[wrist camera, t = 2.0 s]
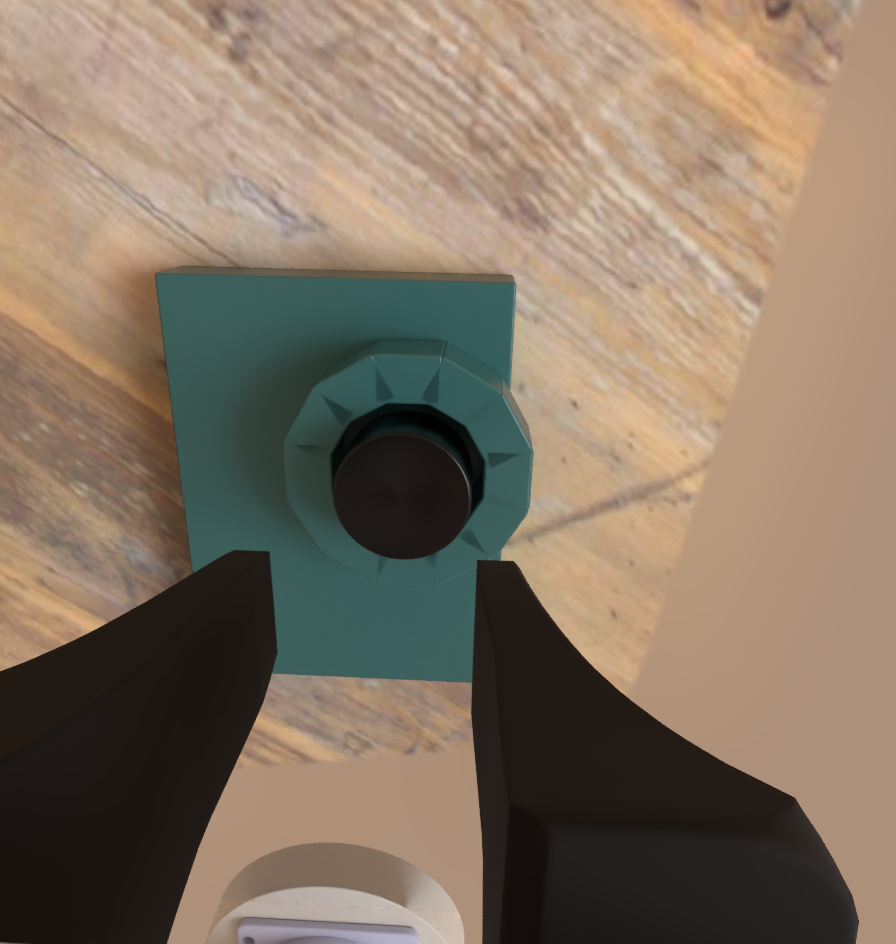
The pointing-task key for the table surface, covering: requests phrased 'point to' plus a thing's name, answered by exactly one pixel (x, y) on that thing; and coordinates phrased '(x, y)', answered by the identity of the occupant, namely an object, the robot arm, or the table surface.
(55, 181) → the table surface
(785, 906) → the robot arm
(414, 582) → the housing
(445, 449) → the button
